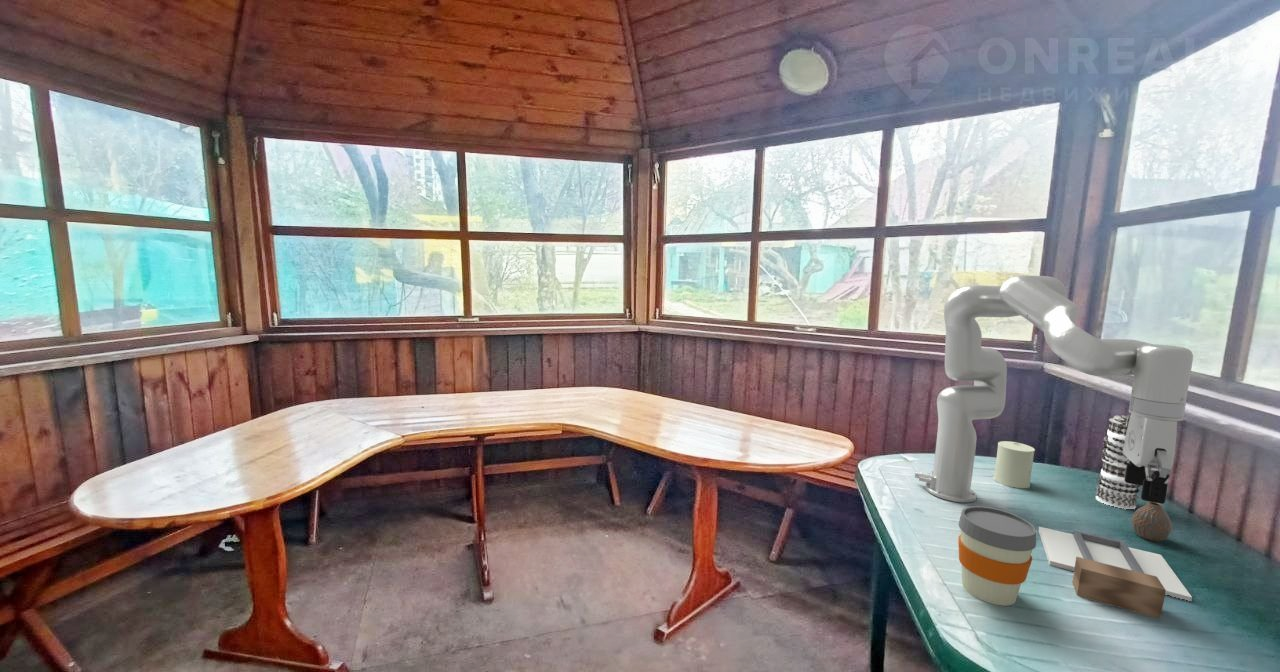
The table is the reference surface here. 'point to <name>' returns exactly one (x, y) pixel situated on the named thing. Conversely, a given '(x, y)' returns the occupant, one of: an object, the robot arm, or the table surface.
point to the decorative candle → (1116, 468)
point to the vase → (1152, 522)
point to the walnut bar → (1118, 587)
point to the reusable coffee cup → (994, 553)
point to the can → (1014, 464)
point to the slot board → (1108, 557)
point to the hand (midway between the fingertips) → (1143, 492)
